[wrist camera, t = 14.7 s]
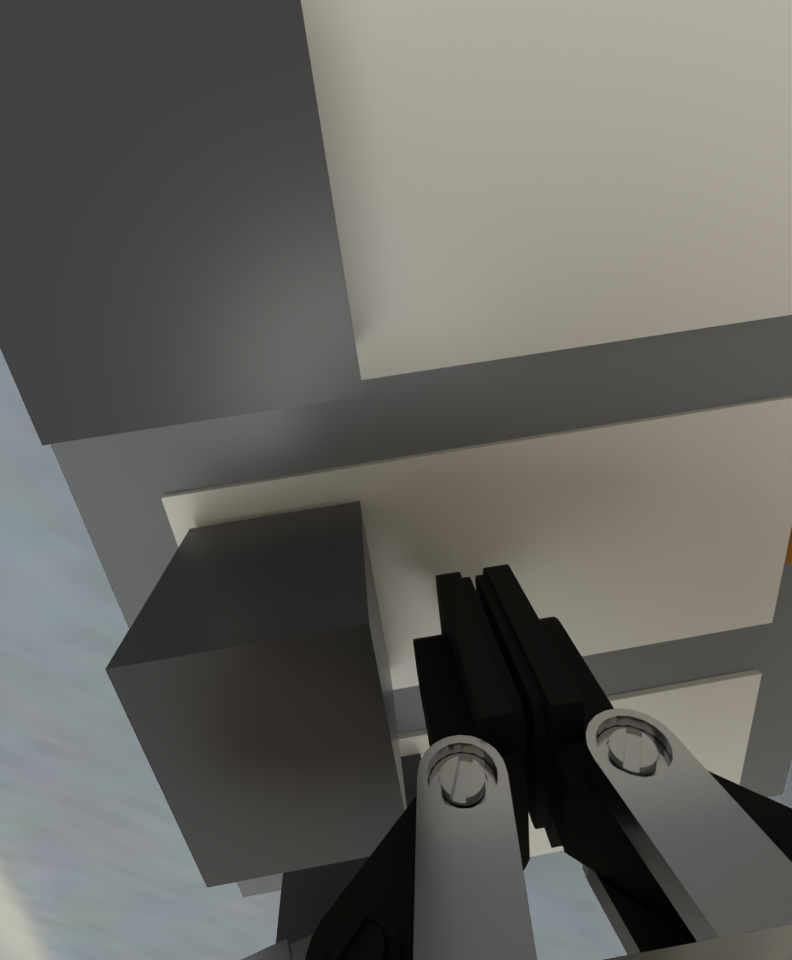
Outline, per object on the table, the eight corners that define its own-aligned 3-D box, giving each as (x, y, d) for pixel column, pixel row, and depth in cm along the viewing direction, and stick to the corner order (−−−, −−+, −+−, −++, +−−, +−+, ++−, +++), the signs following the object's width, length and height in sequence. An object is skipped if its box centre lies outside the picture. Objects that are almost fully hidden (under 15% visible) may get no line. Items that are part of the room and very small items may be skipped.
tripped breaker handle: (359, 501, 12) (368, 623, 8) (390, 678, 14) (411, 848, 10) (189, 528, 12) (105, 669, 8) (247, 703, 14) (207, 887, 10)
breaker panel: (856, -25, 12) (1716, -524, 4) (724, 734, 22) (922, 975, 14) (-11, 83, 11) (-732, -304, 4) (259, 821, 21) (213, 1123, 13)
